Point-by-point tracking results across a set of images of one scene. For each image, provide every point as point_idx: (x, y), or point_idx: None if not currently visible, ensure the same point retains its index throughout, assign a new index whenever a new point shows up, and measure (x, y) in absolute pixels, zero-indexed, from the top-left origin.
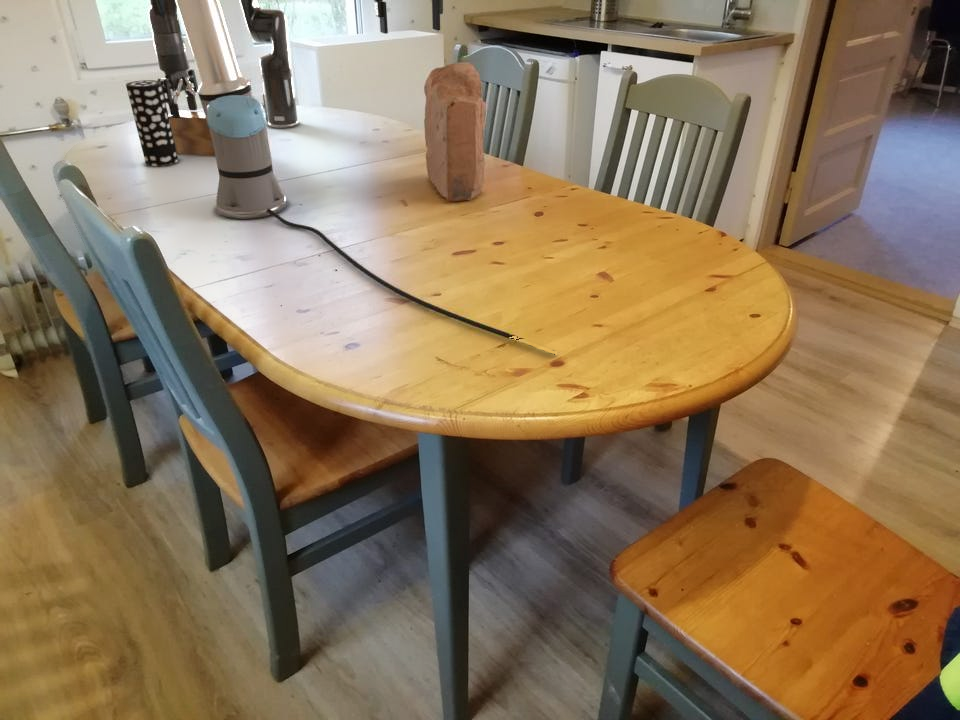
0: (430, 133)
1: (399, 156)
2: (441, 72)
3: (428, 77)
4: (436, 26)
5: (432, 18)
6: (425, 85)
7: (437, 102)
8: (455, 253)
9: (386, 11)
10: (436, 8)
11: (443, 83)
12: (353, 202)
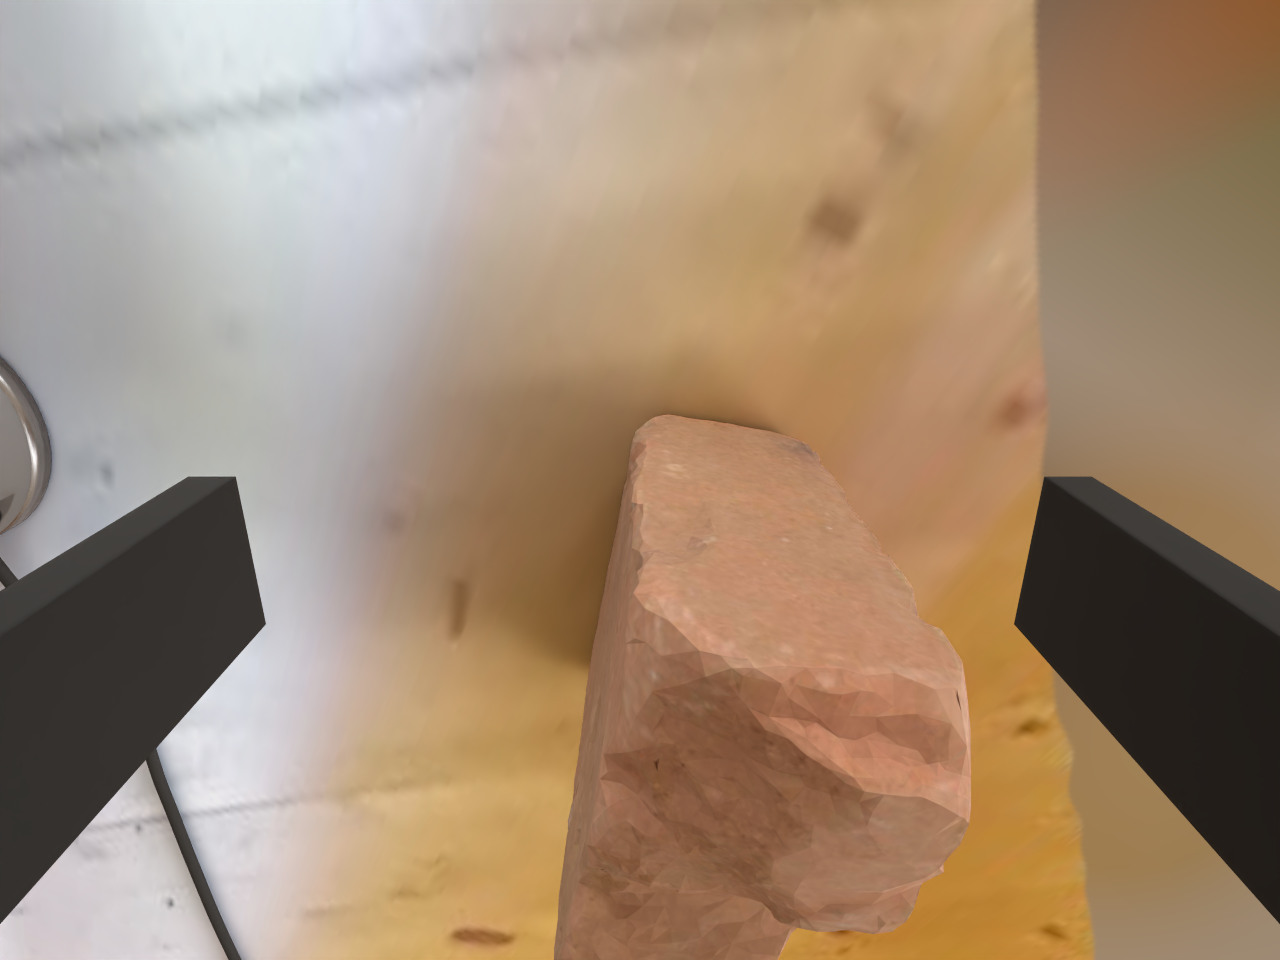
0: (620, 575)
1: (665, 19)
2: (723, 758)
3: (651, 667)
4: (1042, 624)
5: (1135, 539)
6: (626, 637)
7: (586, 823)
8: (461, 933)
9: (70, 839)
10: (1221, 823)
11: (651, 855)
12: (293, 530)
